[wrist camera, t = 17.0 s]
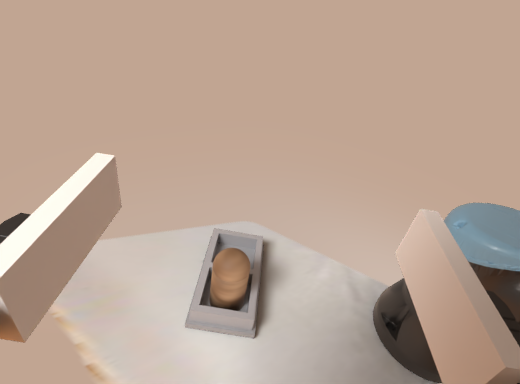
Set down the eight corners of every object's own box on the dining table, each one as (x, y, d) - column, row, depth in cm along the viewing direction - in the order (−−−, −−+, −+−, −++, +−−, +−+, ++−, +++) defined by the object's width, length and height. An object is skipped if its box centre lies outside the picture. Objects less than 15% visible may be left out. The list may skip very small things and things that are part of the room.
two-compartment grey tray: (253, 338, 45) (257, 324, 43) (185, 327, 45) (185, 312, 43) (263, 248, 59) (266, 235, 57) (210, 239, 59) (212, 225, 57)
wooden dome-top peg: (250, 297, 49) (260, 252, 43) (229, 321, 45) (237, 276, 40) (224, 279, 51) (230, 234, 45) (202, 301, 47) (205, 254, 41)
